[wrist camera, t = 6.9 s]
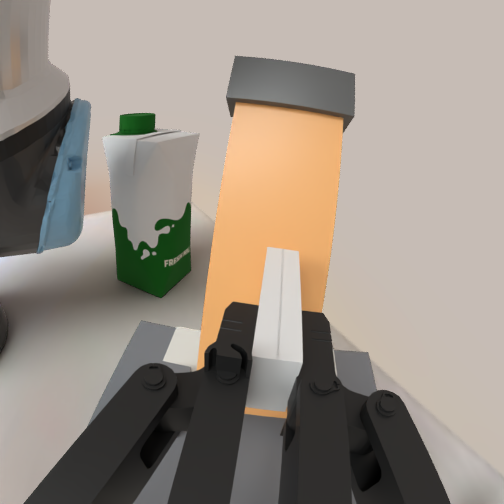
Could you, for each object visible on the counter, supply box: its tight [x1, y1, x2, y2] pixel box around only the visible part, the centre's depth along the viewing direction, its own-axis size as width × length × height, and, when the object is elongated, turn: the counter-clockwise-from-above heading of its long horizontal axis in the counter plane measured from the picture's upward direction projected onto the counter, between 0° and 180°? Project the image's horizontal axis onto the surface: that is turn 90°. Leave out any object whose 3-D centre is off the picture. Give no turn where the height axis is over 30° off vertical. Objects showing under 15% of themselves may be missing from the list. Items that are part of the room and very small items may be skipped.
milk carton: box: [102, 113, 199, 298], centre depth 33 cm, size 9×9×20 cm
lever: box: [197, 56, 355, 418], centre depth 16 cm, size 3×7×20 cm, turn 84°
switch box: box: [87, 320, 377, 504], centre depth 17 cm, size 14×18×8 cm
